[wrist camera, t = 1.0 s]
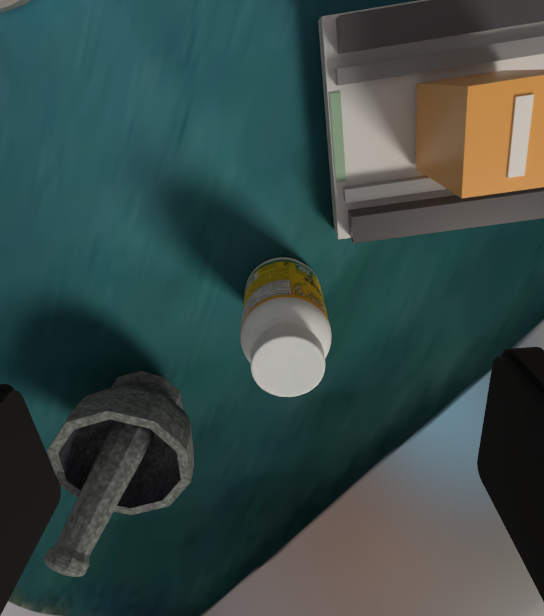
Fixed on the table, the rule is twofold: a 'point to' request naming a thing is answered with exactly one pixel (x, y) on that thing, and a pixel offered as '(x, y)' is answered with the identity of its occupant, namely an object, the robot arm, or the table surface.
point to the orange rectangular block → (482, 132)
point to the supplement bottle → (285, 327)
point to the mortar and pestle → (119, 460)
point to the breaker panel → (414, 109)
